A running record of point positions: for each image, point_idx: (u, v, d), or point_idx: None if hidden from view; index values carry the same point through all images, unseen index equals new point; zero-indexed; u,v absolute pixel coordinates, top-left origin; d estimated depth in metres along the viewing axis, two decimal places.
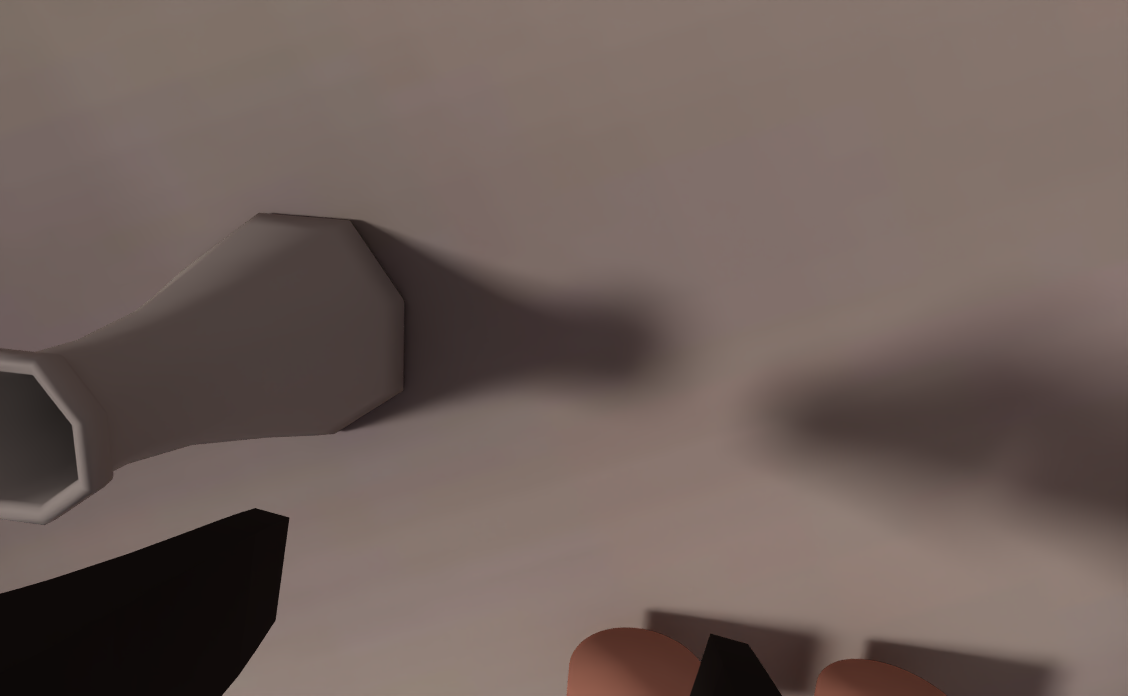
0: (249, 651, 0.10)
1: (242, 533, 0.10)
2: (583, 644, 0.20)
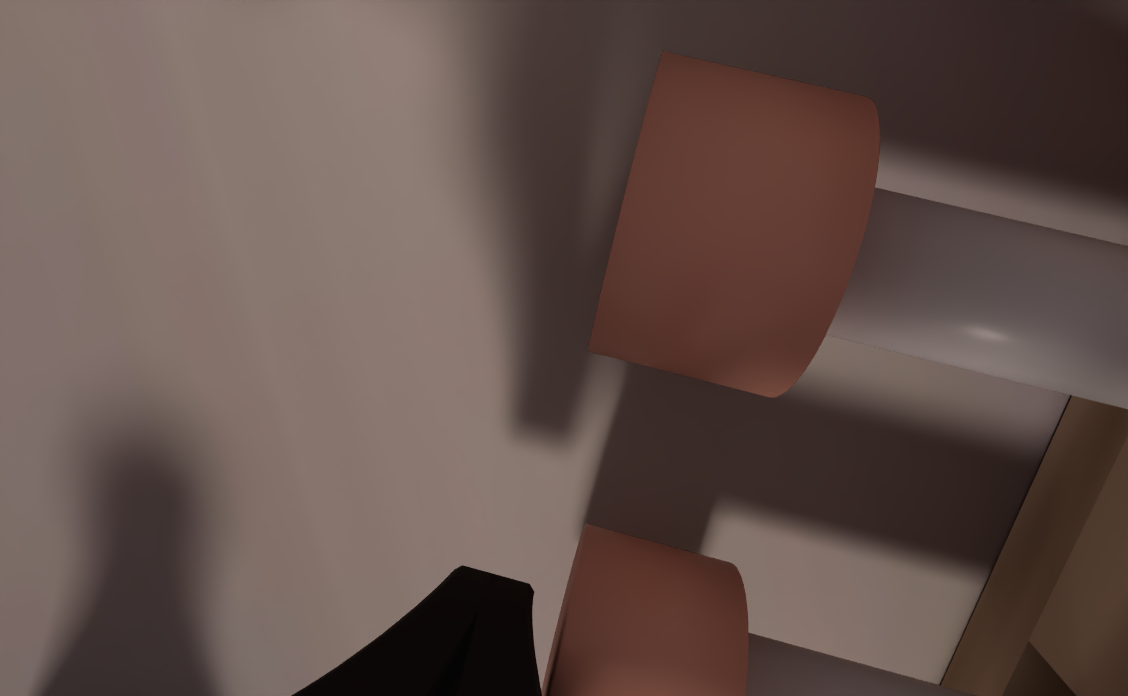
0: None
1: (474, 598, 0.09)
2: (542, 689, 0.12)
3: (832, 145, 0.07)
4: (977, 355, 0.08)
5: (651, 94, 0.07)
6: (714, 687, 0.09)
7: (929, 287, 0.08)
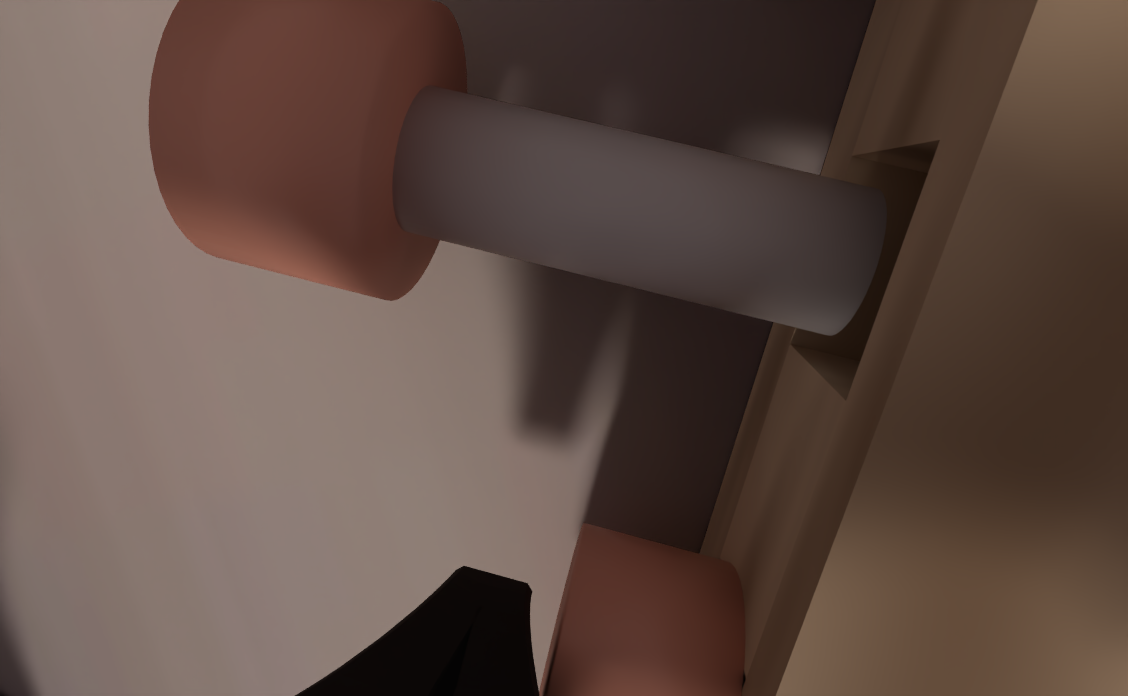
0: None
1: (475, 598, 0.09)
2: (540, 688, 0.12)
3: (349, 35, 0.07)
4: (557, 252, 0.08)
5: None
6: (711, 685, 0.09)
7: (490, 182, 0.08)
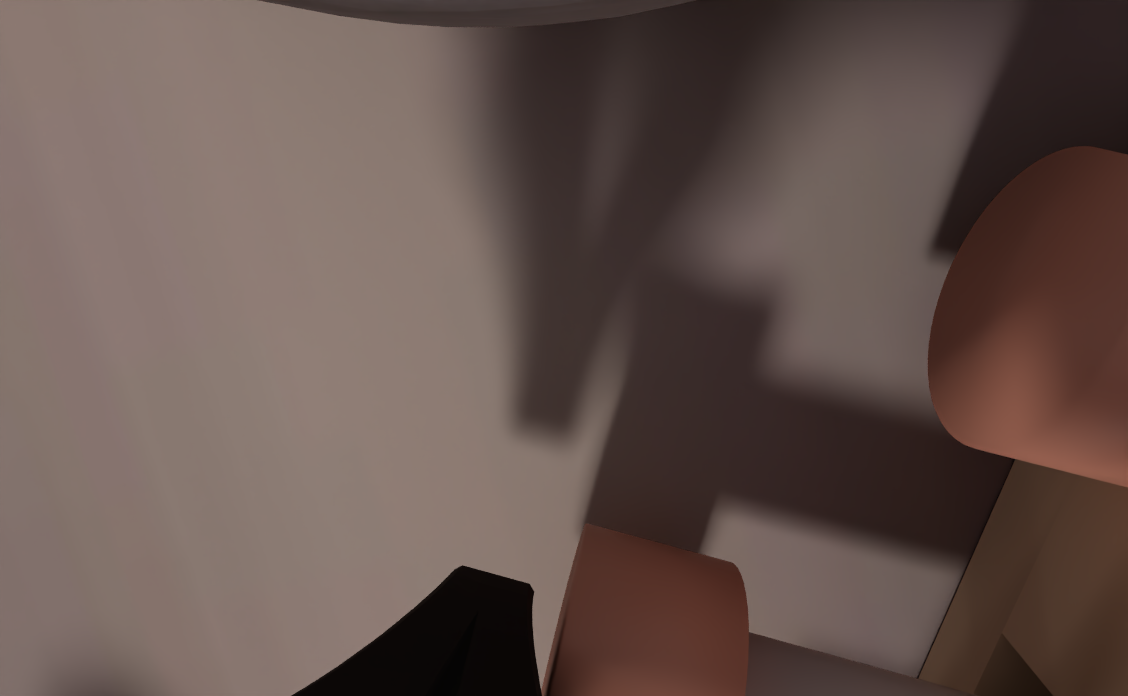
0: None
1: (474, 598, 0.09)
2: None
3: (707, 694, 0.09)
4: None
5: (564, 641, 0.09)
6: None
7: None
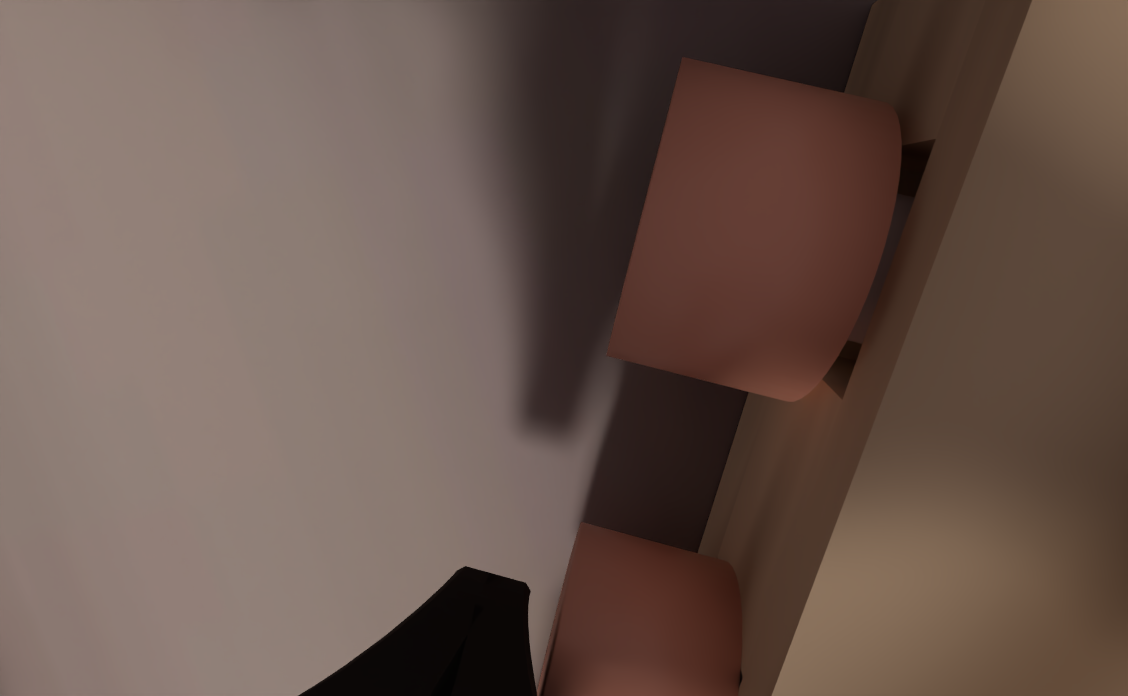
0: None
1: (477, 599, 0.09)
2: None
3: (699, 693, 0.09)
4: None
5: (558, 639, 0.09)
6: None
7: None
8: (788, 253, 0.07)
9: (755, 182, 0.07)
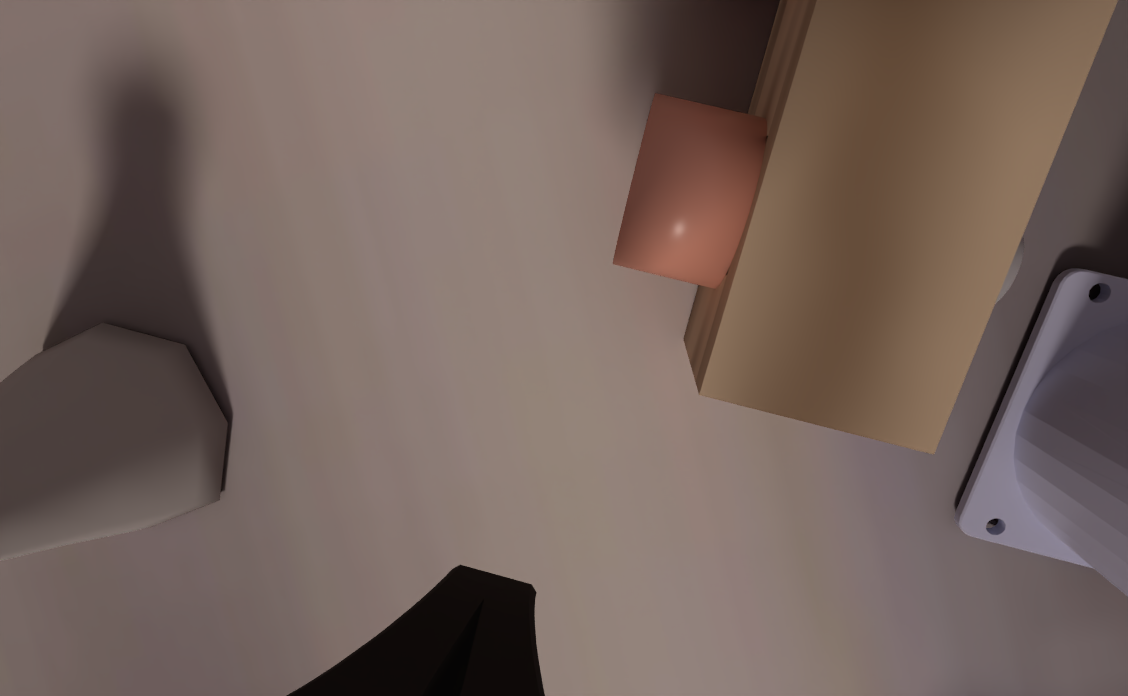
0: None
1: (471, 597, 0.09)
2: None
3: None
4: None
5: None
6: (746, 141, 0.14)
7: None
8: None
9: None
